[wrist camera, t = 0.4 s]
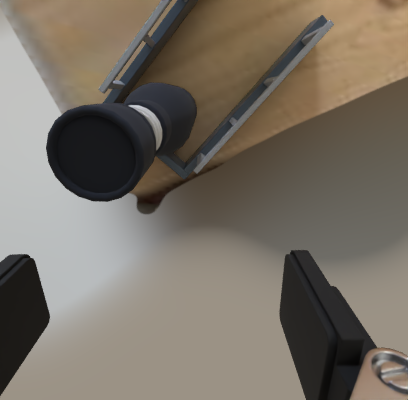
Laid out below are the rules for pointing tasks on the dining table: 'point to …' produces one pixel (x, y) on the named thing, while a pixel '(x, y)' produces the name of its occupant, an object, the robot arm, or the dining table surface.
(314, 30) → the dish rack
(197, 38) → the dining table surface
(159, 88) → the dark blue bottle
